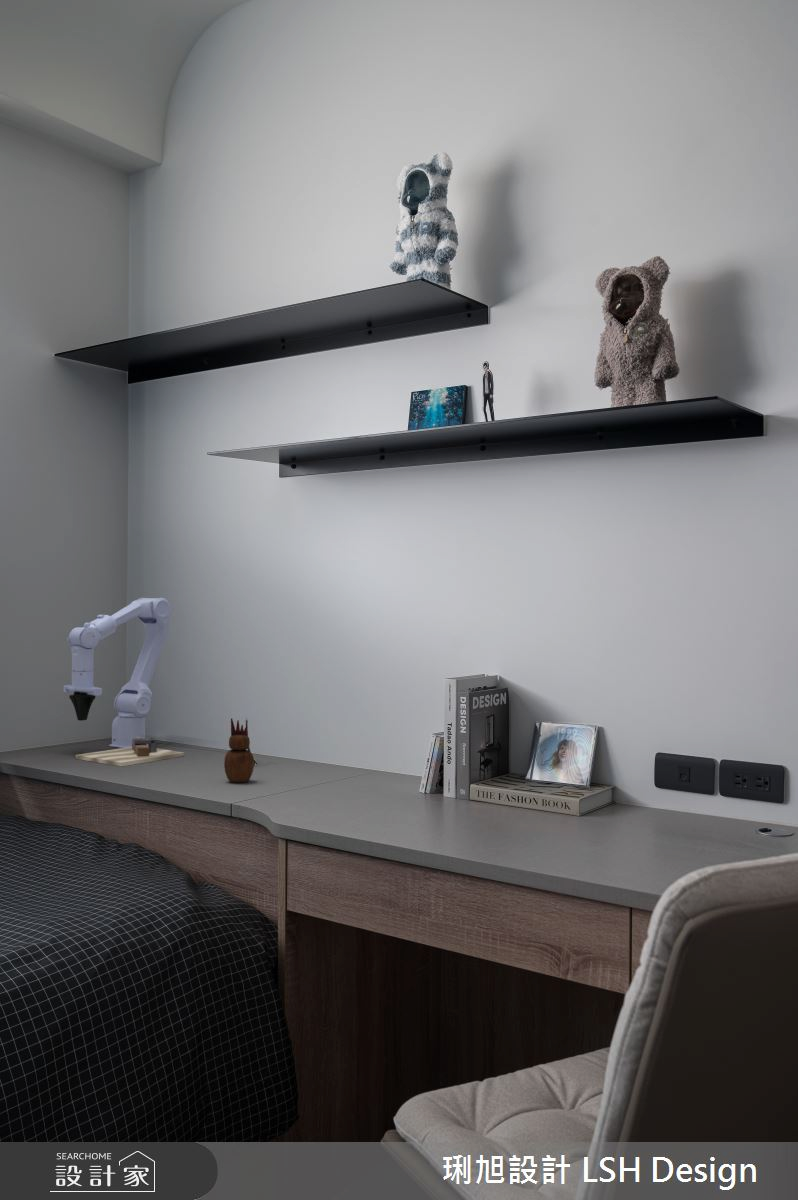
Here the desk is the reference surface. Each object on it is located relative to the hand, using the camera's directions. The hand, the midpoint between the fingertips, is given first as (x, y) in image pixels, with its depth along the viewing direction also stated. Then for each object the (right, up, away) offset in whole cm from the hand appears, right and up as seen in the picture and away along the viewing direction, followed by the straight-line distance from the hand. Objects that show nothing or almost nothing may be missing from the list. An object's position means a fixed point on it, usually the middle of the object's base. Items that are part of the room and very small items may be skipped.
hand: (82, 720), depth 266 cm
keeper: (+17, -9, -1) cm, 19 cm away
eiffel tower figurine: (+47, -11, -14) cm, 50 cm away
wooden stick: (+16, -8, -1) cm, 18 cm away
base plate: (+15, -10, -5) cm, 18 cm away
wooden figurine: (+49, -10, -37) cm, 63 cm away
